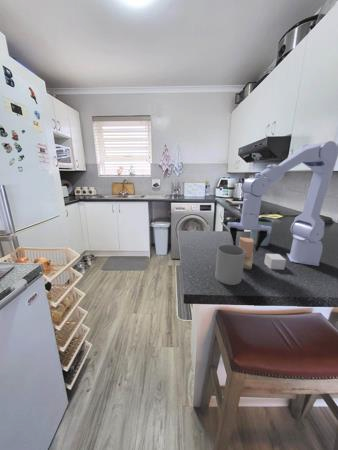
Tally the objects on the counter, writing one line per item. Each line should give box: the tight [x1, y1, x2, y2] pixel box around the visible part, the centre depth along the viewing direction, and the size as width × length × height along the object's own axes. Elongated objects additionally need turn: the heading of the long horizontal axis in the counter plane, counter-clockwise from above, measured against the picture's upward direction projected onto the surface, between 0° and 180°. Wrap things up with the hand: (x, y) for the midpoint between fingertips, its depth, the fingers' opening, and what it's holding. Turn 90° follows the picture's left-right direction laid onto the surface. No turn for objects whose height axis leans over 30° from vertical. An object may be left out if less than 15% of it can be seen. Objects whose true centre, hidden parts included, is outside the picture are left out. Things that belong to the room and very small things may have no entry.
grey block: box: [263, 253, 287, 271], centre depth 71 cm, size 5×5×4 cm
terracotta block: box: [238, 236, 254, 258], centre depth 71 cm, size 4×4×6 cm
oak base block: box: [243, 253, 254, 270], centre depth 72 cm, size 6×6×4 cm
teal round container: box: [249, 217, 275, 247], centre depth 94 cm, size 10×10×12 cm
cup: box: [214, 244, 246, 286], centre depth 61 cm, size 8×8×10 cm
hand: (245, 248), depth 70 cm, fingers open, 7 cm apart
